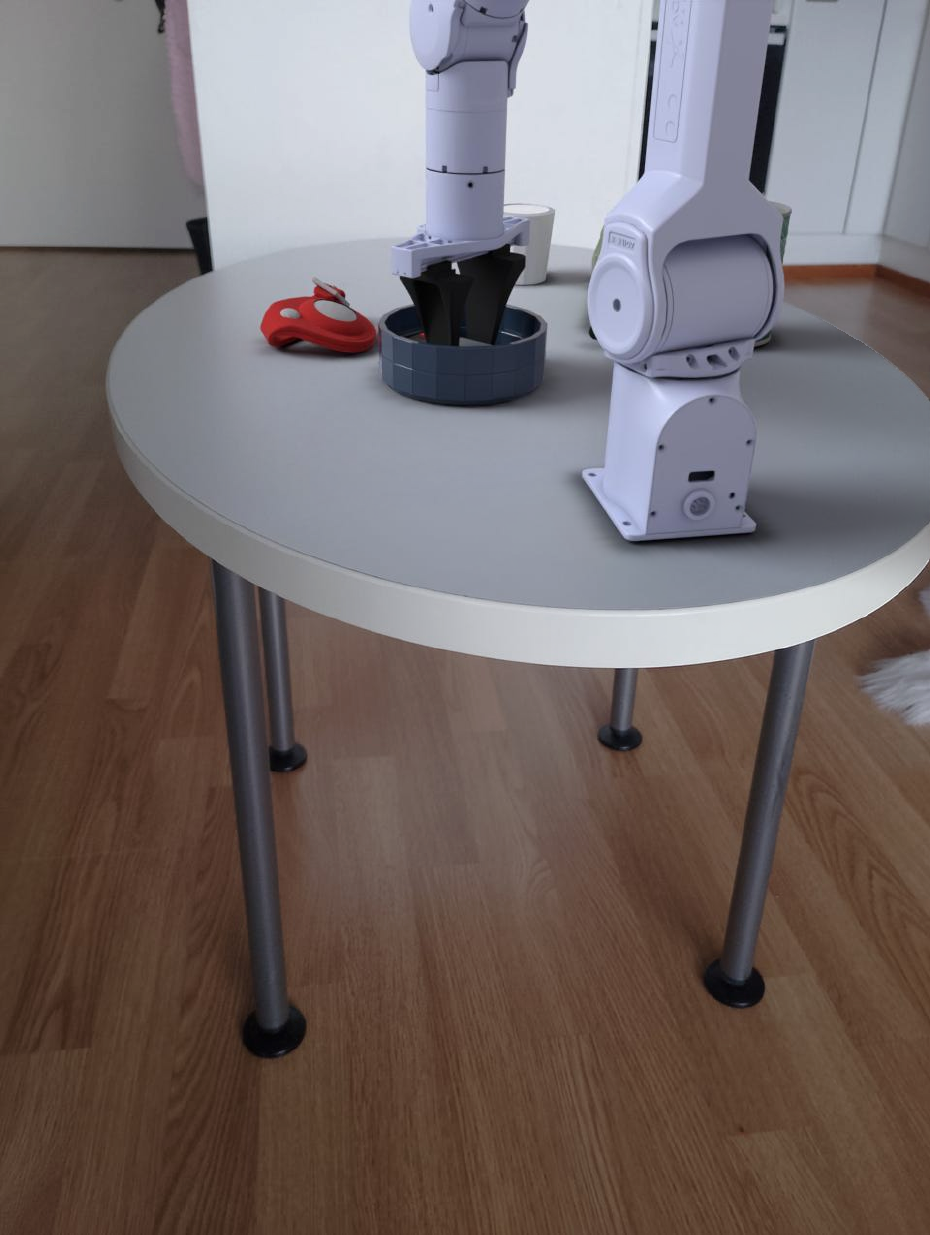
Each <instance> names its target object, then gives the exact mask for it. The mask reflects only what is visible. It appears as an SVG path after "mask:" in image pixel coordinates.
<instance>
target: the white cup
mask: <svg viewBox="0 0 930 1235" xmlns="http://www.w3.org/2000/svg"><path fill="white" fill-rule="evenodd" d="M508 216H512V217H518V218H524V219H530V233H529V244H528V245H525V246H516V245H514V246H510V252H513V253H519V254H523V255H525V256H526V264H525V269H524V270H523V272H522V273H521V275H520V276H519V278H518V280H517V282H516V284H515V285H517V286H518V285H520V286H527V285H536V284H541V283H543V282H545V281H546V279H547V273H548V272H547V271H548V264H549V259H550V258H549V257H550V252H551V244H552V237H553V231H554V230H553V229H554V224H555V217H556V209H555V208H553V207H550V206H546V205H542V204H536V203H535V204H534V203H504V213H503V218H504V217H508Z"/></svg>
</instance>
